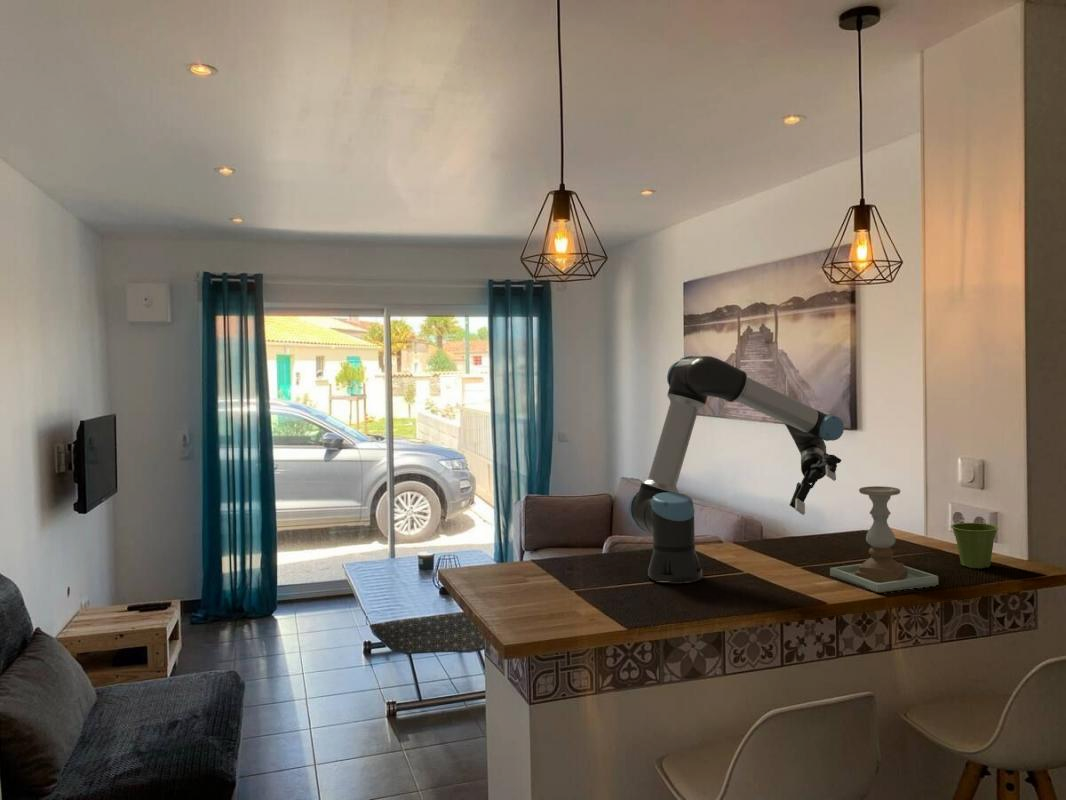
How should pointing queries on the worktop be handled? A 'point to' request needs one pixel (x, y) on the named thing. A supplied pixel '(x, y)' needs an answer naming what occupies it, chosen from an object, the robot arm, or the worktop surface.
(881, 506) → the candle holder
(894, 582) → the tray
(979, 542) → the plant pot
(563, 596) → the worktop surface
